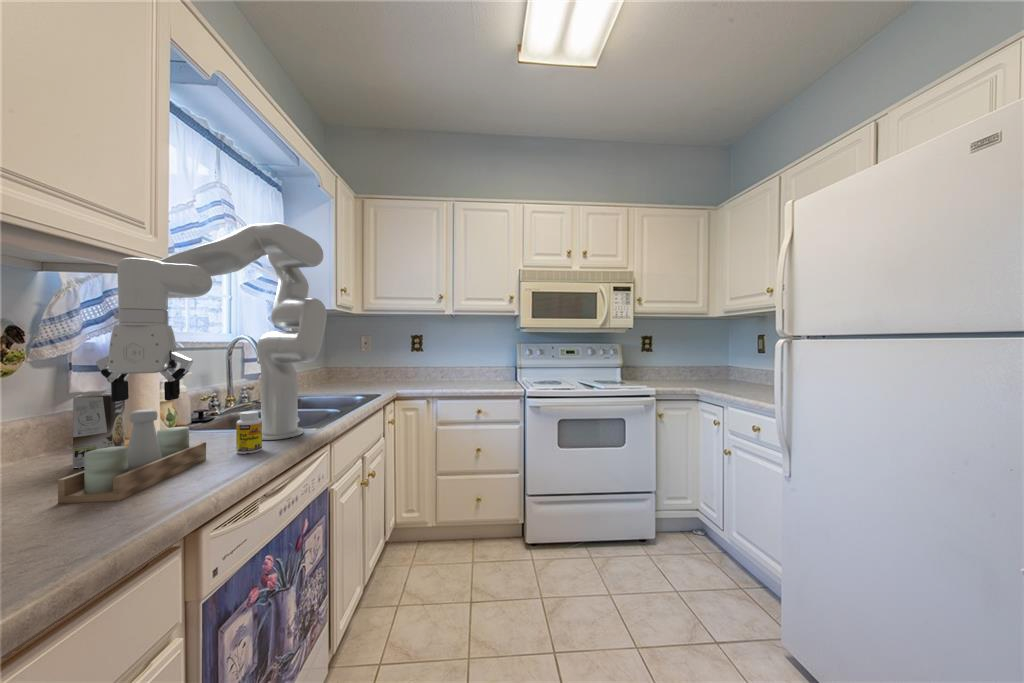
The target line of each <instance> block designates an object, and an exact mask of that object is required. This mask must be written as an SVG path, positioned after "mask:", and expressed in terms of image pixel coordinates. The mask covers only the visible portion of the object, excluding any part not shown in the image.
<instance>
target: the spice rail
mask: <svg viewBox="0 0 1024 683" xmlns="http://www.w3.org/2000/svg"><path fill="white" fill-rule="evenodd" d="M156 434H157V438H158V442H159V446H160V450H161V454H162V458H161V459H158V460H156V461H153V462H151V463H148V464H146V465H143V466H141V467H138V468H136V469H133V470H131V471H128V446H126V445H125V446H118V447H107V448H101V449H96V450H92V451H88V452H86V453H85V454H84V468H83V469H84V470H82V471H79V472H76V473H73V474H71V475H67V476H65V477H62V478H59V479H57V504H72V503H74V504H75V503H76V504H77V503H95V502H96V503H97V502H117V501H118V502H119V501H122V500H123V499H126V498H128V497H130V496H132V495H134V494H136V493H138V491H139V492H140V491H143V490H145V489H148V488H149V487H151V486H153V485H155V484H157V483H160V482H162V481H164V480H166V479H168V478H170V477H173V476H174V475H176V474H179V473H181V472H183V471H185V470H187V469H189V468H191V467H193V466H195V465H194V464H196V463H198V462H200V463H202V462H204V461H206V460H207V442H206V441H202V442H199V443H197V444H193V445H191V446H190V427H189V426H176V427H175V426H174V427H168V428H162V429H159V430H157V431H156ZM205 459H206V460H205ZM203 460H204V461H203ZM201 461H202V462H201ZM198 464H199V463H198ZM192 465H193V466H192ZM196 465H197V464H196ZM190 466H191V467H190ZM188 467H189V468H188ZM186 468H187V469H186ZM184 469H185V470H184ZM180 471H181V472H180Z"/></svg>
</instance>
